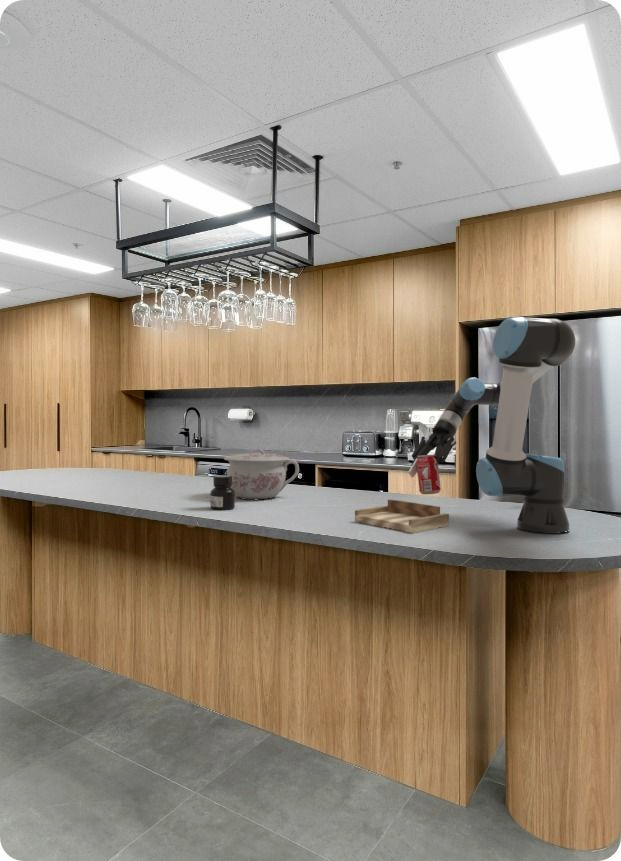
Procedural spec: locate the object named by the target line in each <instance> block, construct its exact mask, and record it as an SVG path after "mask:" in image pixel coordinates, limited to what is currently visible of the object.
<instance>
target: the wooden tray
mask: <svg viewBox="0 0 621 861" xmlns="http://www.w3.org/2000/svg"><path fill="white" fill-rule="evenodd" d="M449 516H450V514H449V513H445V512H444V513H441V506H437V505H430V504H424V503H417V502H410V501H403V500H397V499H392V498H391V499H387V505H382V506H375V507H368V508H361V509H356V510H354V522H355V523H358V522H361V523H360V524H363V523H366V524H365V525H369V524H371V525H370V526H374V525H377V526H376V527H379V526H382V527H381V528H384V527H387V528H386V529H389V528H392V529H391V530H394V529H397V530H396V531H399V530H401V531H400V532H404V531H405V532H406V533H409V532H410V533H411V534H415V533H421V532H425V531H430V529H431V530H435V528H436V529H440V528H439V527H441V528H444V527H445V526H446V527H449V525H450V524H449V523H450V522H449V520H450V518H449Z"/></svg>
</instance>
